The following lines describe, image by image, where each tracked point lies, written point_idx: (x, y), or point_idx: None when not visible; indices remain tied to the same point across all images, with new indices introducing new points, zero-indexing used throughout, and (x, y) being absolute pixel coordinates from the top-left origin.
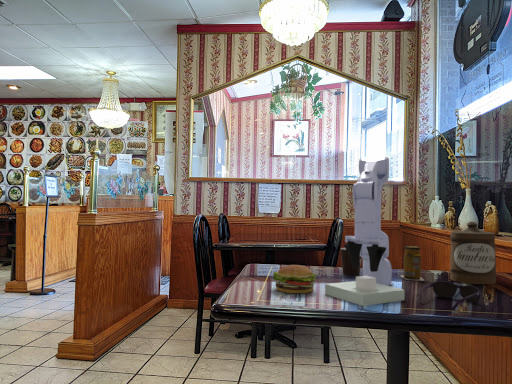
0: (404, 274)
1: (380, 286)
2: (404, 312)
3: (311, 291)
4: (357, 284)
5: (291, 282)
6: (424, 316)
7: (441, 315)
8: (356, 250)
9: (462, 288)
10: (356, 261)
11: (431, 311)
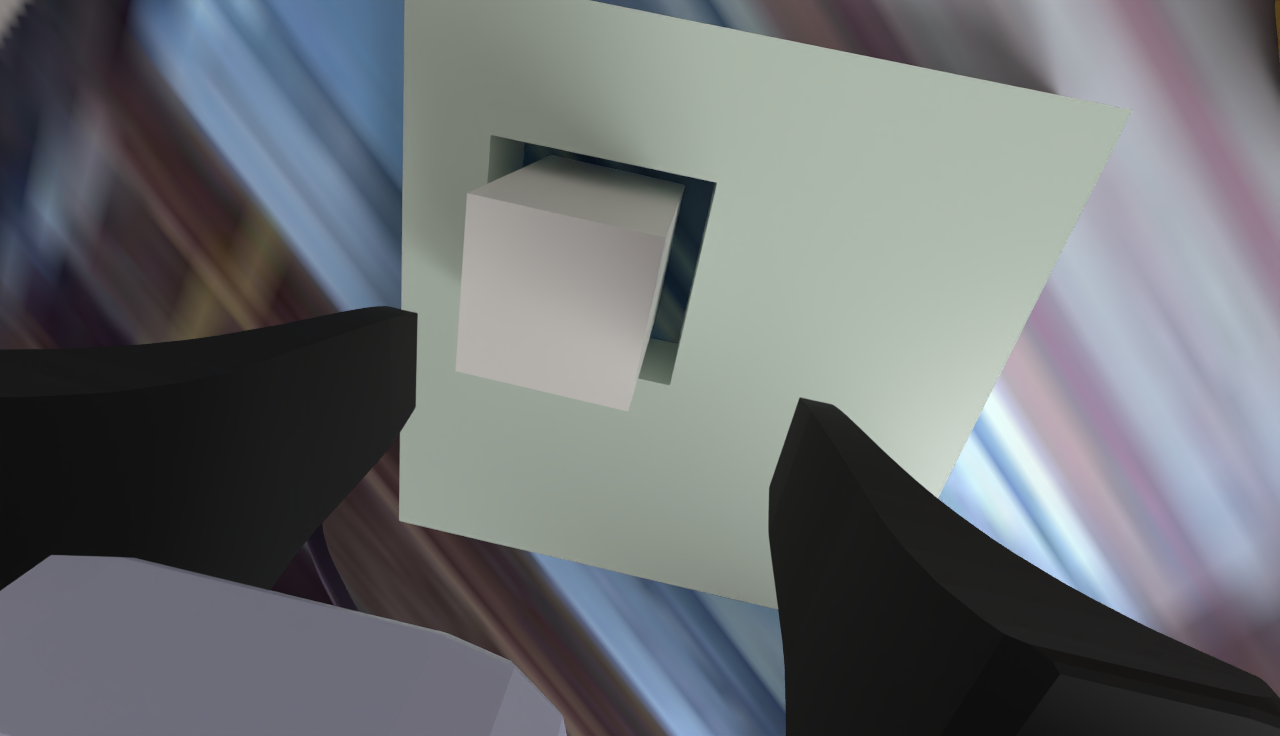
0: None
1: (594, 491)
2: (156, 116)
3: (1276, 26)
4: (642, 208)
5: None
6: (24, 137)
7: (26, 268)
8: (826, 713)
9: None
10: (793, 520)
11: (129, 317)
